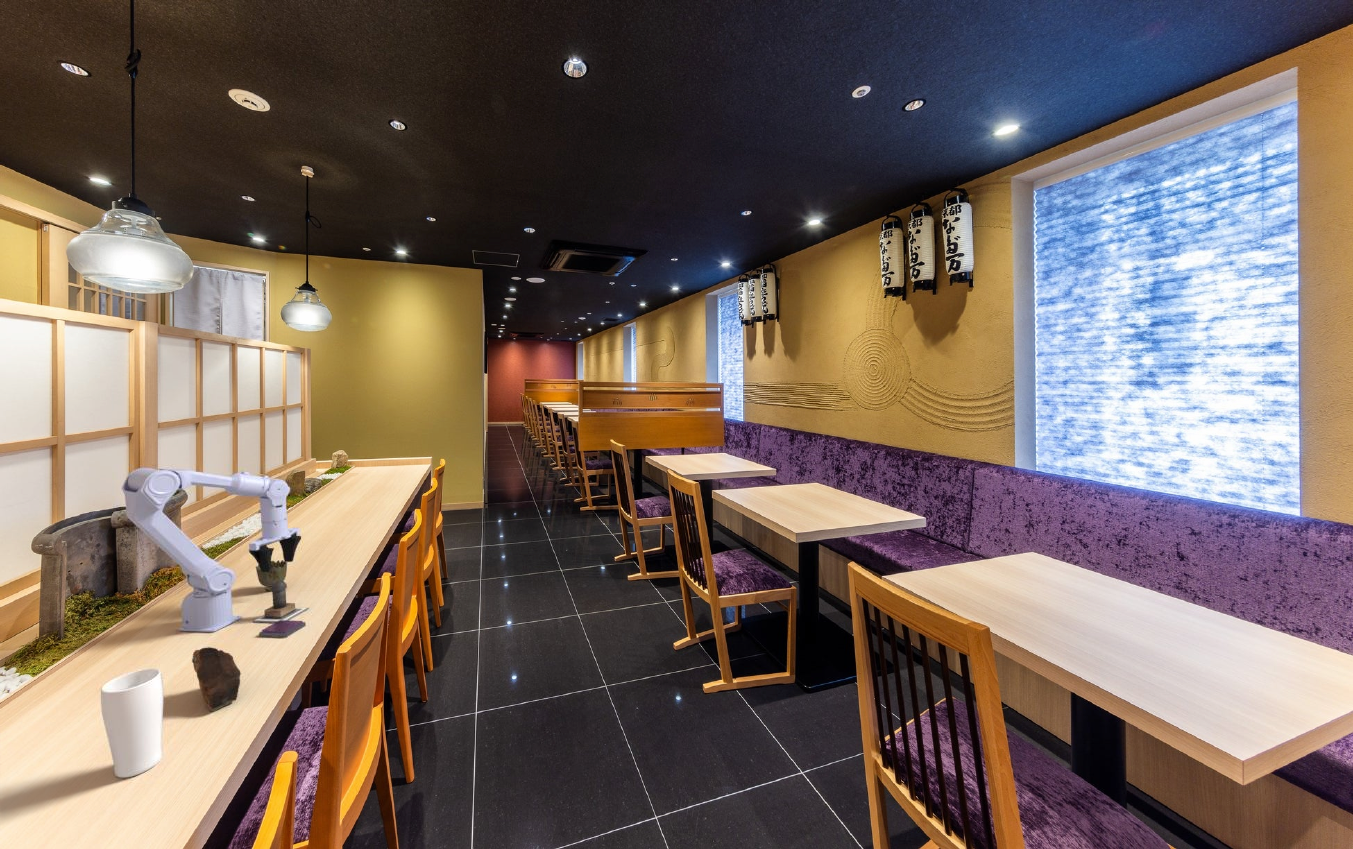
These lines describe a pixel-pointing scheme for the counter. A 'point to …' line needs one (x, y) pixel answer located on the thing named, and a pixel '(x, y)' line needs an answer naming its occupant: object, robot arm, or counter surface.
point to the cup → (272, 574)
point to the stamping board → (288, 617)
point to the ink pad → (282, 628)
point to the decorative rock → (216, 677)
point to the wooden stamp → (279, 602)
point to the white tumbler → (134, 720)
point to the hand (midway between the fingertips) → (277, 566)
